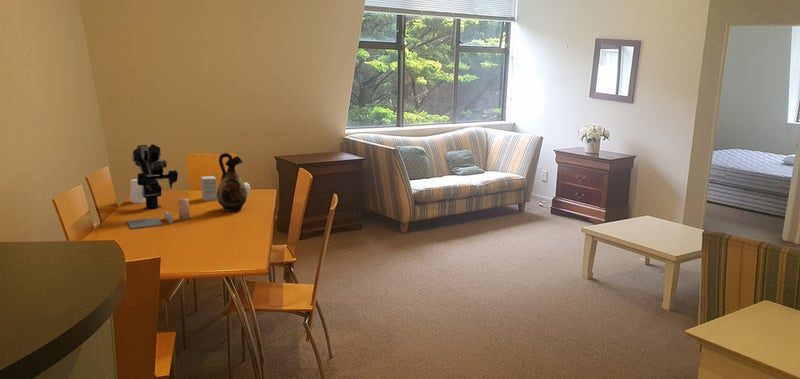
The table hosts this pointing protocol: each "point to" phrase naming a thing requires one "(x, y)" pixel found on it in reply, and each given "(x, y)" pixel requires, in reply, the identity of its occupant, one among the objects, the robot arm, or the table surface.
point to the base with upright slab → (136, 192)
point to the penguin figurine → (247, 188)
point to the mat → (144, 223)
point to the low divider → (168, 217)
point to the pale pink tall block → (184, 209)
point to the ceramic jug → (231, 185)
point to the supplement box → (209, 188)
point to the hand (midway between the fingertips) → (161, 189)
